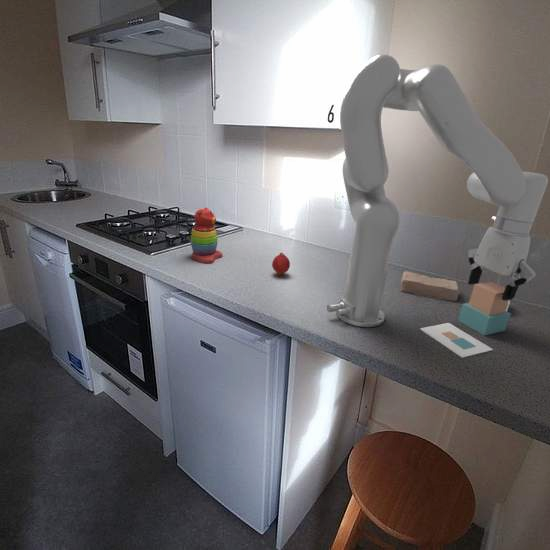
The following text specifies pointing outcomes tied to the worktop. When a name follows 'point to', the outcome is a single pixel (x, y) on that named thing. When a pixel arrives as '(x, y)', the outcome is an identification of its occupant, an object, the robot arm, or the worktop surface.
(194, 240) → the stacking bear
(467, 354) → the page
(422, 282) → the brick
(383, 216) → the robot arm
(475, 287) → the clay block
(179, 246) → the worktop surface
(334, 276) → the worktop surface
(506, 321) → the base block
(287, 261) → the onion
